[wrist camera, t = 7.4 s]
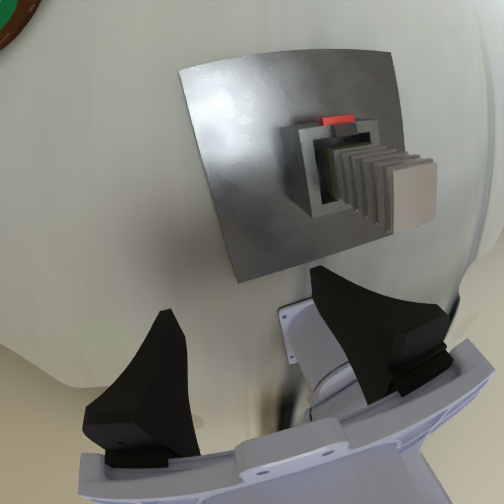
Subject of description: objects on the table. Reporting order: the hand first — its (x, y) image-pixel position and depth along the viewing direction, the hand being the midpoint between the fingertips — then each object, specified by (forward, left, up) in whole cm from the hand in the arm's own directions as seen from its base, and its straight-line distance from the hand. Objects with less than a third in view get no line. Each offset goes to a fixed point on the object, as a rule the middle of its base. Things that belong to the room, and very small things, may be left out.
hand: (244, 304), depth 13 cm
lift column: (+4, -9, -7) cm, 12 cm away
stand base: (+4, -9, -10) cm, 14 cm away
